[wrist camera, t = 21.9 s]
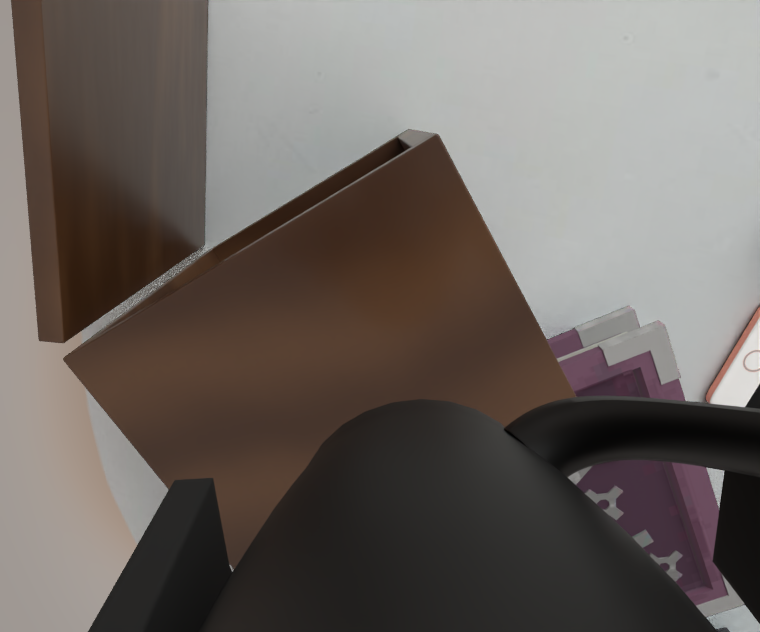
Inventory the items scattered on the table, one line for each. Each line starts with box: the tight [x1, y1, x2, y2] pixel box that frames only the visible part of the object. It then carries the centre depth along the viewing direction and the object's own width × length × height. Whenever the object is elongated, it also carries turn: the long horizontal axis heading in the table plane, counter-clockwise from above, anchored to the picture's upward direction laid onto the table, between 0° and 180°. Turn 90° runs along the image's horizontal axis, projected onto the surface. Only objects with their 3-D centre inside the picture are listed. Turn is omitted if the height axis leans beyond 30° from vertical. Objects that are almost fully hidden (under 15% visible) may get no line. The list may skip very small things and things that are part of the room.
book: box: [547, 306, 745, 617], centre depth 46 cm, size 25×16×5 cm, turn 24°
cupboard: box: [63, 129, 576, 569], centre depth 33 cm, size 14×17×20 cm
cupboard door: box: [11, 0, 208, 343], centre depth 30 cm, size 7×17×20 cm, turn 174°
